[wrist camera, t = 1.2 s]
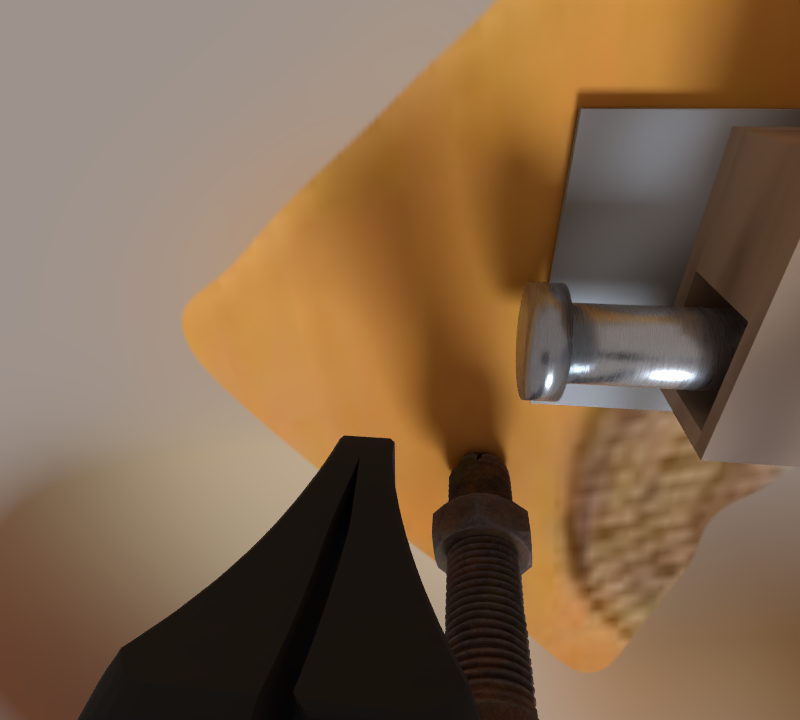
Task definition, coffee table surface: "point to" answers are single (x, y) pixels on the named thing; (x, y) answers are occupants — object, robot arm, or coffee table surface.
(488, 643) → the bolt
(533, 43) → the coffee table surface
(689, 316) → the pin
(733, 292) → the block
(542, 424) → the coffee table surface
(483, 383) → the coffee table surface
